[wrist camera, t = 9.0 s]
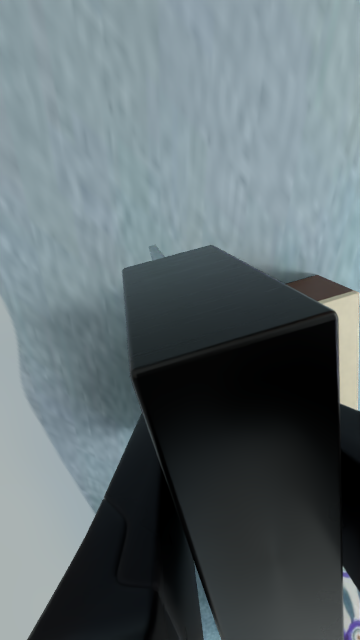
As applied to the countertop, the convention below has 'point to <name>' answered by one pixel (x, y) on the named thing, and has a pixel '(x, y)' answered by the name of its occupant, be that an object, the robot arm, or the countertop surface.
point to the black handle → (245, 436)
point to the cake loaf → (348, 314)
